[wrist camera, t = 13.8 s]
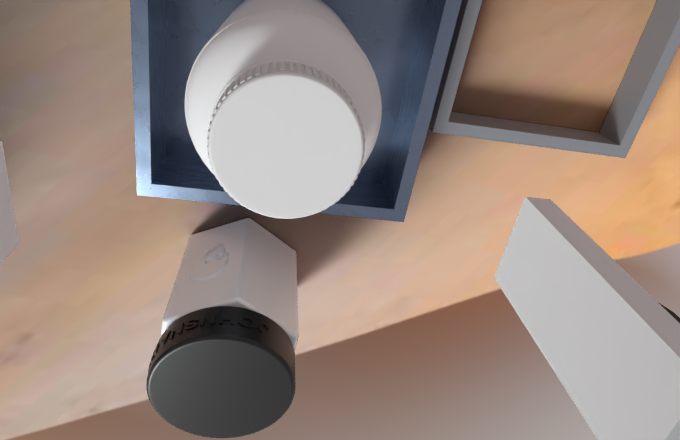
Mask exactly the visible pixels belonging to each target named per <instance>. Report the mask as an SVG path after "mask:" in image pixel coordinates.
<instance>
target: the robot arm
mask: <svg viewBox="0 0 680 440" xmlns="http://www.w3.org/2000/svg"><path fill="white" fill-rule="evenodd" d="M18 244H19V238H18V232H17V226H16V220H15V214H14V208H13V203H12V197H11V191H10V185H9V179H8V173H7V167H6V161H5V155H4V149H3V144H2V141H0V265H1V264H2V263H3V262H4V260H5V259H6V258H7V257H8V256H9V254H10V253H11V252H12V251H13V250H14V248H15V247H16V246H17V245H18ZM494 278H495V280H496V281H497V283H498V284H499V286H500V288H501V289H502V291H503V292H504V294H505V295H506V297H507V298H508V300H509V302H510V303H511V305H512V306H513V307H514V309H515V311H516V312H517V314H518V316H519V317H520V319H521V320H522V322H523V323H524V325H525V326H526V328H527V330H528V331H529V333H530V334H531V336H532V337H533V339H534V341H535V342H536V344H537V345H538V347H539V348H540V350H541V352H542V353H543V355H544V356H545V358H546V359H547V361H548V362H549V364H550V366H551V367H552V369H553V370H554V372H555V373H556V375H557V376H558V378H559V379H560V381H561V383H562V384H563V386H564V387H565V389H566V391H567V392H568V394H569V395H570V397H571V398H572V400H573V402H574V403H575V405H576V406H577V408H578V409H579V411H580V412H581V414H582V415H583V417H584V418H585V420H586V422H587V423H588V425H589V426H590V428H591V430H592V431H593V433H594V434H595V436H596V437H597V439H598V440H680V318H679V317H678V316H677V315H676V314H675V313H674V312H672V311H671V310H669V309H668V308H666V307H664V306H663V305H661V304H660V303H658V302H657V301H656V300H655V299H654V298H652V296H651V295H650V294H649V293H647V292H646V291H645V290H644V289H643V288H642V287H641V286H640V285H639V284H638V283H637V282H636V281H635V280H634V279H633V278H632V277H631V276H630V275H629V274H628V273H627V272H625V271H624V270H623V269H622V268H621V267H620V266H619V265H618V264H617V263H616V262H615V261H614V260H613V259H612V258H611V257H610V256H609V255H608V254H607V253H606V252H605V251H604V250H603V249H602V248H600V247H599V246H598V245H597V244H596V243H595V242H594V241H593V240H592V239H591V238H590V237H589V236H588V235H587V234H586V233H585V232H584V231H583V230H582V229H581V228H580V227H579V226H577V225H576V224H575V223H574V222H573V221H572V220H571V219H570V218H569V217H568V216H567V215H566V214H565V213H564V212H563V211H562V210H561V209H560V208H559V207H558V206H557V205H556V204H554V203H553V202H552V201H551V200H550V199H540V198H531V197H525V199H524V202H523V204H522V207H521V209H520V212H519V215H518V217H517V220H516V222H515V225H514V228H513V230H512V233H511V235H510V238H509V241H508V243H507V246H506V248H505V251H504V254H503V256H502V259H501V261H500V264H499V266H498V269H497V272H496V274H495V277H494Z"/></svg>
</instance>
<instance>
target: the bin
mask: <svg viewBox="0 0 680 440" xmlns="http://www.w3.org/2000/svg"><path fill="white" fill-rule="evenodd" d="M244 1H245V0H130V7H131V36H132V65H133V94H134V123H135V151H136V180H137V195H143V196H153V197H163V198H173V199H182V200H192V201H202V202H212V203H222V204H232V205H240V203H238V202H236V201H235V200H234V199H233V198H232V197H230V196H229V195H228V193H227V192H225V190H224V189H223V187H222V186H221V185H220V184H219V181H218V180H217V179H216V177H215V175H214V174H213V173H212V172H211V171H210V170H209V169H208V167H207V166H206V165H205V164H204V162H203V161H202V159H201V158H200V156H199V154H198V152H197V151H196V149H195V147H194V144H193V142H192V140H191V137H190V134H189V131H188V127H187V123H186V117H185V91H186V85H187V81H188V77H189V74H190V71H191V69H192V66H193V64H194V62H195V60H196V58H197V56H198V55H199V53H200V52H201V50H202V49H203V47H204V46H205V44H206V43H207V42H208V41H209V40H210V38H211V37H212V36H213V35H214V34H215V32H216V31H217V30H218V29H219V28H220V26H221V25H222V24H223V23H224V21H225V20H226V19H227V18H228V17H229V15H230V14H231V13H232V12H233V11H234V10H235V9H236V8H237V7H238V6H239V5H240V4H241V3H242V2H244ZM321 1H323V2H324V3H326V4H327V5H328V6H329V7H330V8H332V9H333V10H334V12H335V13H336V14H337V15H338V16H339V17H340V19H341V20H342V22H343V23H344V25H345V26H346V27H347V29H348V30H349V32H350V33H351V35H352V36H353V38H354V39H355V40H356V42H357V43H358V45H359V46H360V48H361V49H362V51H363V52H364V54H365V55H366V57H367V58H368V60H369V62H370V64H371V66H372V68H373V70H374V73H375V75H376V78H377V81H378V85H379V89H380V94H381V103H382V116H381V125H380V130H379V134H378V137H377V140H376V143H375V145H374V148H373V150H372V152H371V154H370V156H369V158H368V159H367V161H366V162H365V164H364V165H363V167H362V168H361V171H360V173H359V174H358V177H357V179H356V180H355V181H354V184H353V186H351V187H350V190H349V191H348V192H346V193H345V195H344V196H343V197H341V198H340V200H339V201H338V202H336V203H335V204H333V205H332V206H330V207H328V208H327V209H324V210H322V211H321V212H319V213H321V214H331V215H340V216H350V217H360V218H370V219H380V220H390V221H400V222H404V219H405V215H406V211H407V207H408V203H409V200H410V196H411V192H412V188H413V184H414V181H415V177H416V173H417V169H418V165H419V162H420V158H421V154H422V150H423V146H424V143H425V139H426V135H427V131H428V127H429V124H430V120H431V116H432V112H433V108H434V105H435V101H436V97H437V93H438V89H439V86H440V82H441V78H442V74H443V70H444V67H445V63H446V59H447V55H448V51H449V47H450V44H451V40H452V36H453V32H454V28H455V25H456V21H457V17H458V13H459V9H460V6H461V2H462V0H321Z"/></svg>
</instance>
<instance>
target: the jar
mask: <svg viewBox="0 0 680 440" xmlns="http://www.w3.org/2000/svg"><path fill="white" fill-rule="evenodd" d="M298 337H299V331H298V295H297V258H296V251H295V250H293V249H292V248H291V247H289V246H288V245H287V244H285V243H284V242H282V241H281V240H280V239H278V238H277V237H276V236H274V235H273V234H271V233H270V232H269V231H267V230H266V229H264V228H263V227H262V226H260V225H259V224H258V223H256V222H255V221H253V220H252V219H250V218H245V219H242V220H239V221H235V222H232V223H229V224H226V225H222V226H219V227H216V228H212V229H209V230H206V231H202V232H199V233H196V234H192V235H191V236H190V237H189V240H188V243H187V246H186V249H185V252H184V255H183V258H182V261H181V265H180V268H179V271H178V274H177V277H176V280H175V283H174V286H173V289H172V292H171V295H170V298H169V301H168V304H167V307H166V310H165V313H164V317H163V320H162V329H161V338H160V340H159V342H158V344H157V346H156V349H155V351H154V353H153V356H152V359H151V362H150V365H149V371H148V377H147V394H148V397H149V400H150V402H151V404H152V406H153V407H154V409H155V410H156V412H157V413H158V414H159V415H160V416H161V417H162V418H163V419H164V420H166V421H167V422H168V423H170V424H171V425H173V426H175V427H176V428H178V429H181V430H183V431H185V432H188V433H191V434H194V435H198V436H203V437H210V438H232V437H240V436H245V435H249V434H252V433H255V432H258V431H260V430H263V429H264V428H267V427H268V426H270V425H272V424H273V423H275V422H276V421H277V420H278V419H280V418H281V417H282V415H283V414H284V413H285V412H286V411H287V410H288V408H289V406H290V405H291V403H292V400H293V398H294V394H295V348H296V344H297V341H298Z"/></svg>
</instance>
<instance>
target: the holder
mask: <svg viewBox="0 0 680 440" xmlns="http://www.w3.org/2000/svg"><path fill="white" fill-rule="evenodd" d="M481 3H482V0H462V2H461V6H460V9H459V13H458V17H457V21H456V25H455V28H454V32H453V36H452V40H451V44H450V47H449V51H448V55H447V59H446V63H445V67H444V70H443V74H442V78H441V82H440V86H439V89H438V93H437V97H436V101H435V105H434V108H433V112H432V116H431V120H430V124H429V128H430V129H431V131H432V132H433V133H441V134H448V135H456V136H464V137H471V138H479V139H486V140H494V141H501V142H509V143H516V144H524V145H531V146H539V147H546V148H554V149H561V150H569V151H576V152H584V153H591V154H599V155H606V156H614V157H621V158H626V156H627V154H628V152H629V149H630V147H631V145H632V143H633V141H634V139H635V137H636V135H637V133H638V131H639V129H640V126H641V124H642V122H643V120H644V118H645V116H646V114H647V112H648V110H649V108H650V105H651V103H652V101H653V99H654V97H655V95H656V93H657V91H658V89H659V87H660V85H661V82H662V80H663V78H664V76H665V74H666V72H667V70H668V68H669V66H670V64H671V61H672V59H673V57H674V55H675V53H676V51H677V49H678V47H679V45H680V0H657V2H656V4H655V7H654V9H653V11H652V13H651V16H650V18H649V20H648V23H647V25H646V27H645V29H644V32H643V34H642V36H641V39H640V41H639V43H638V45H637V48H636V50H635V52H634V55H633V57H632V59H631V61H630V64H629V66H628V68H627V70H626V73H625V75H624V77H623V80H622V82H621V84H620V86H619V89H618V91H617V93H616V96H615V98H614V100H613V102H612V105H611V107H610V109H609V112H608V114H607V116H606V118H605V121H604V123H603V125H602V128H601V130H600V132H592V131H585V130H578V129H571V128H564V127H557V126H550V125H543V124H536V123H529V122H521V121H514V120H507V119H500V118H493V117H486V116H479V115H472V114H465V113H458V112H451V110H452V106H453V103H454V99H455V96H456V92H457V89H458V85H459V82H460V78H461V75H462V71H463V67H464V64H465V60H466V57H467V53H468V50H469V46H470V43H471V39H472V35H473V32H474V28H475V25H476V21H477V18H478V14H479V11H480V7H481Z"/></svg>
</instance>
